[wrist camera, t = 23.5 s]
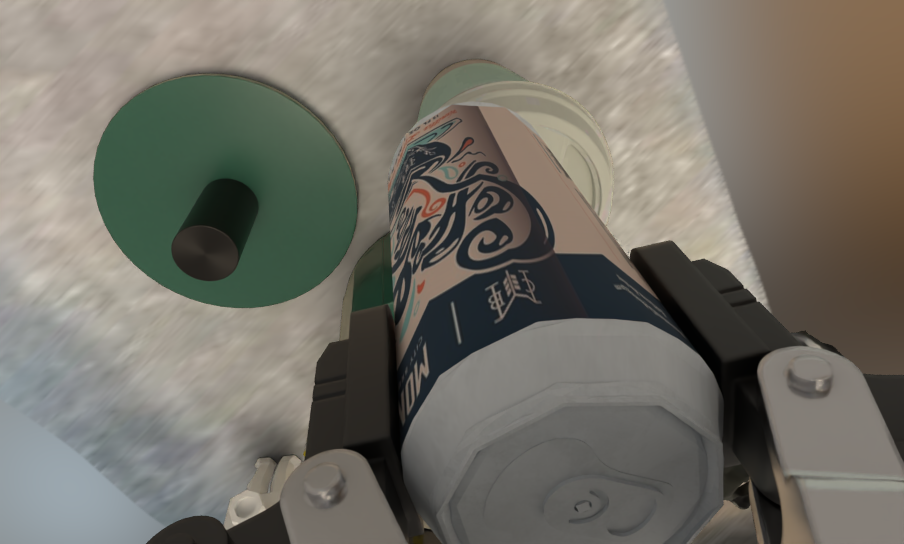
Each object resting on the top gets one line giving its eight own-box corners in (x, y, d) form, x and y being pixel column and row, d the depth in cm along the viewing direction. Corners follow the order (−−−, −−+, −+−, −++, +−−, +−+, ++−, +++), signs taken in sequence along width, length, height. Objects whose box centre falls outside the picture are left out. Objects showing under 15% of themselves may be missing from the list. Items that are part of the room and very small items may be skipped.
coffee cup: (490, 213, 36) (533, 336, 26) (364, 137, 33) (356, 244, 23) (584, 90, 33) (674, 176, 23) (453, -6, 30) (490, 43, 20)
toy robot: (291, 412, 43) (262, 574, 33) (312, 487, 47) (293, 651, 37) (233, 420, 43) (187, 584, 33) (260, 494, 47) (226, 661, 37)
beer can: (422, 70, 17) (498, 322, 7) (574, 130, 18) (835, 419, 8) (365, 220, 19) (354, 592, 9) (505, 265, 20) (640, 633, 10)
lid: (320, 321, 39) (310, 393, 34) (87, 262, 36) (32, 331, 30) (390, 124, 33) (392, 170, 28) (118, 27, 29) (56, 58, 24)
